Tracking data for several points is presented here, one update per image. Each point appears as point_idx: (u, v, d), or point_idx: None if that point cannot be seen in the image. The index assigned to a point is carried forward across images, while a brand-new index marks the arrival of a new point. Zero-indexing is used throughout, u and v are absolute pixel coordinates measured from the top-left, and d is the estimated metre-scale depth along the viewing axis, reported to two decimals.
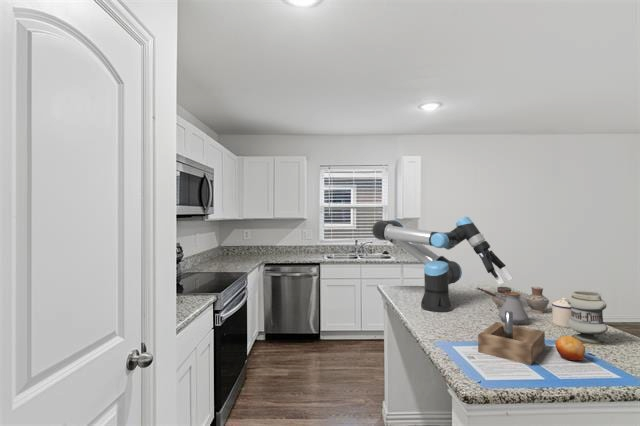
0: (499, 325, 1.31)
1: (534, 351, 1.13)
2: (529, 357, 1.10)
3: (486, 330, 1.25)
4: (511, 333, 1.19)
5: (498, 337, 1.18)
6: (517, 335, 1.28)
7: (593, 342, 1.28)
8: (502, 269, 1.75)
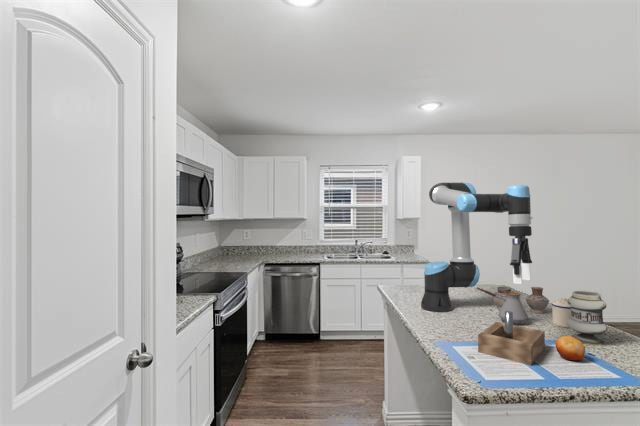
0: (499, 325, 1.31)
1: (534, 351, 1.13)
2: (529, 357, 1.10)
3: (486, 330, 1.25)
4: (511, 333, 1.19)
5: (498, 337, 1.18)
6: (517, 335, 1.28)
7: (593, 342, 1.28)
8: (525, 265, 1.37)
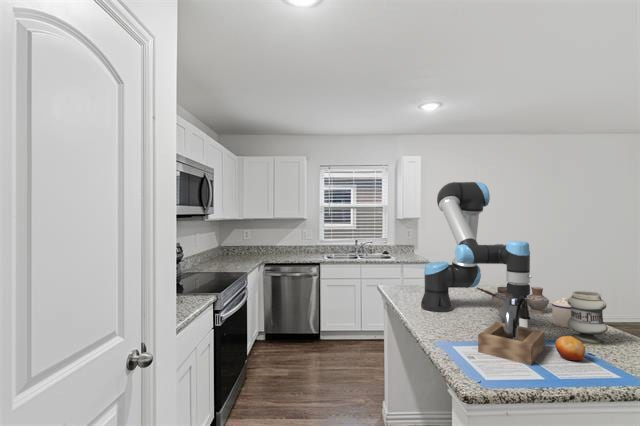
0: (499, 325, 1.31)
1: (534, 351, 1.13)
2: (529, 357, 1.10)
3: (486, 330, 1.25)
4: (511, 333, 1.19)
5: (498, 337, 1.18)
6: None
7: (593, 342, 1.28)
8: (523, 321, 1.33)
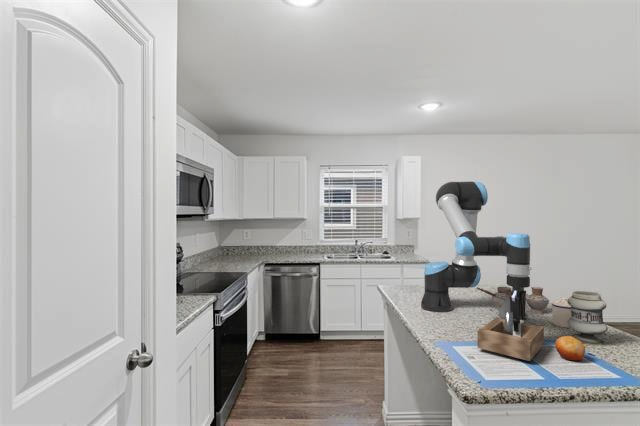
0: (498, 321, 1.31)
1: (533, 347, 1.14)
2: (528, 353, 1.10)
3: (485, 326, 1.25)
4: (511, 333, 1.19)
5: (497, 333, 1.18)
6: None
7: (593, 342, 1.28)
8: None
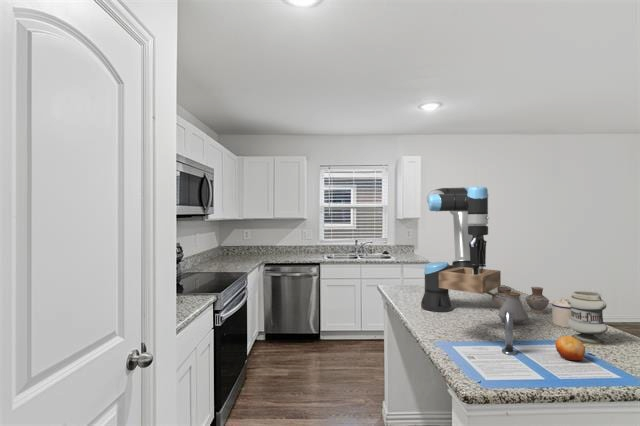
0: (461, 268, 1.43)
1: (487, 283, 1.25)
2: (481, 287, 1.22)
3: (447, 270, 1.37)
4: (511, 333, 1.19)
5: (456, 273, 1.30)
6: None
7: (593, 342, 1.28)
8: None
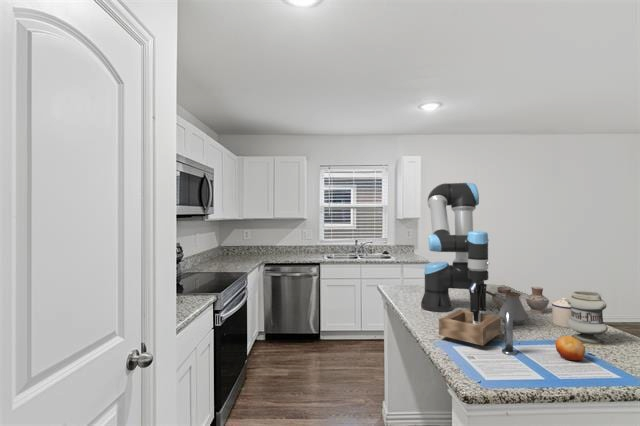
0: (461, 312, 1.43)
1: (487, 333, 1.25)
2: (481, 338, 1.22)
3: (447, 316, 1.37)
4: (511, 333, 1.19)
5: (456, 321, 1.30)
6: None
7: (593, 342, 1.28)
8: (479, 312, 1.41)
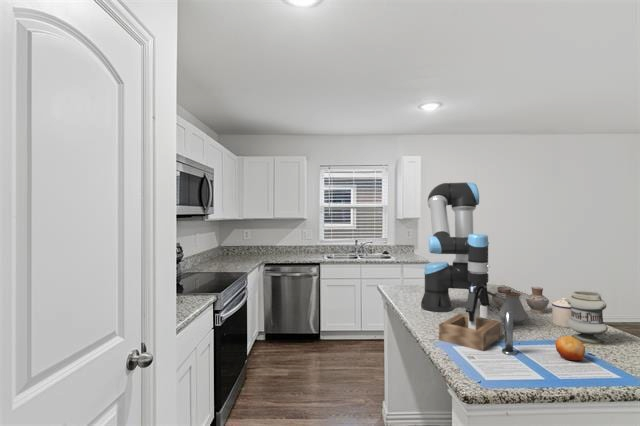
0: (461, 316, 1.43)
1: (487, 338, 1.25)
2: (482, 344, 1.22)
3: (447, 320, 1.37)
4: (511, 333, 1.19)
5: (456, 326, 1.30)
6: (476, 325, 1.39)
7: (593, 342, 1.28)
8: (483, 307, 1.45)
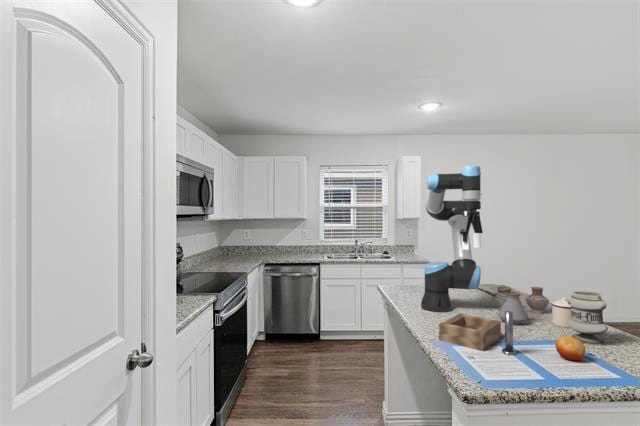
0: (461, 316, 1.43)
1: (487, 338, 1.25)
2: (482, 344, 1.22)
3: (447, 320, 1.37)
4: (511, 333, 1.19)
5: (456, 326, 1.30)
6: (476, 325, 1.39)
7: (593, 342, 1.28)
8: (476, 234, 1.59)
